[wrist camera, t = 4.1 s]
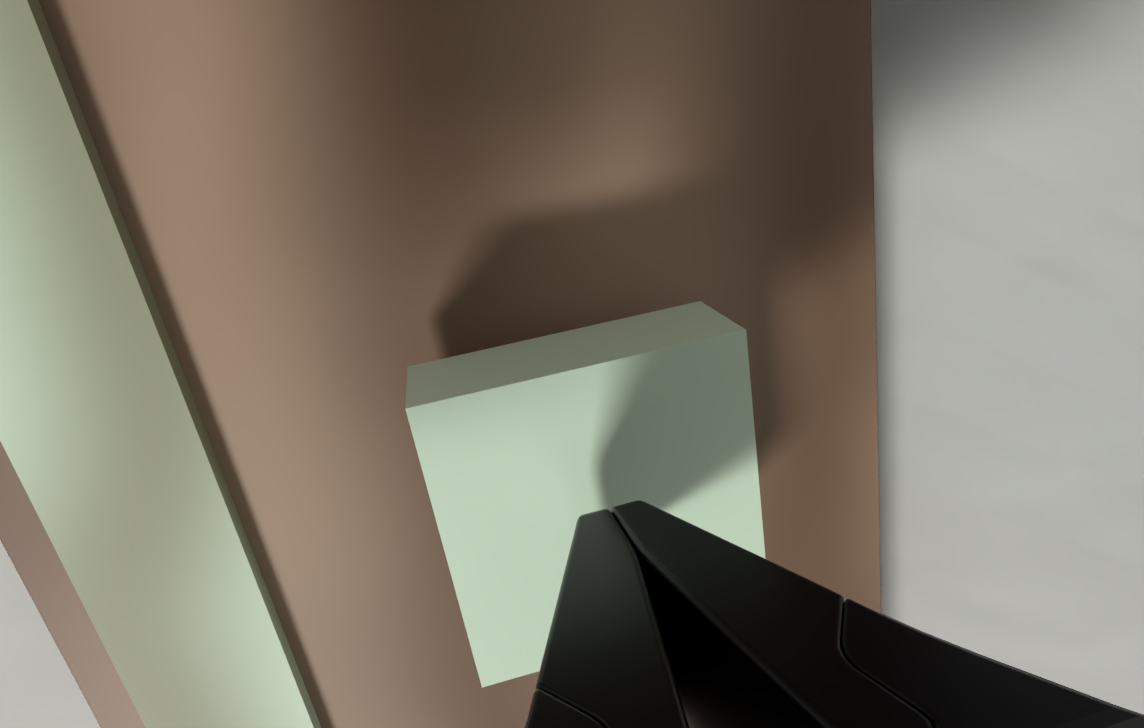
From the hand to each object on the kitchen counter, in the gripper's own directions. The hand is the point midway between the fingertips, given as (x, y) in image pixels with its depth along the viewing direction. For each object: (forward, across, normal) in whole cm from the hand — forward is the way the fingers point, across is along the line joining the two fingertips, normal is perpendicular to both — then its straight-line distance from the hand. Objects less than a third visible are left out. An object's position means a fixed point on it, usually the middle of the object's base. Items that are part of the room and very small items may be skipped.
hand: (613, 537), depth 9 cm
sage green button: (+2, 0, 0) cm, 2 cm away
